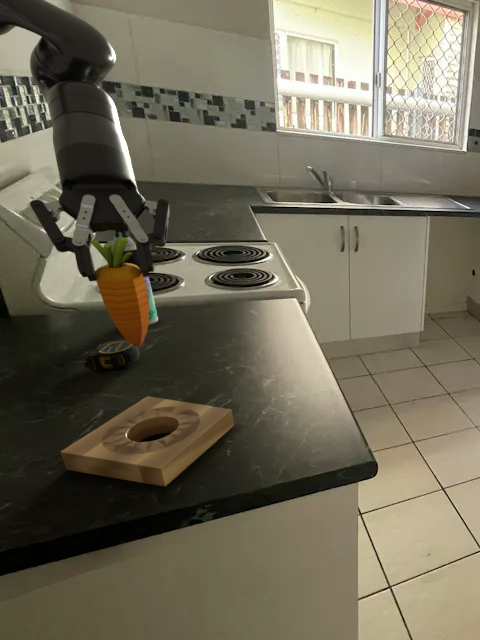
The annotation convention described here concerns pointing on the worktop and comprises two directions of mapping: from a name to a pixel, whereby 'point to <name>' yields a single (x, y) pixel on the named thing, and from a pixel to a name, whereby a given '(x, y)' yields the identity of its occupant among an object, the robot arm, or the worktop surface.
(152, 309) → the spray can
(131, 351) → the tape measure
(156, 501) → the worktop surface
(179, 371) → the worktop surface
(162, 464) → the socket pad
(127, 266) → the carrot
